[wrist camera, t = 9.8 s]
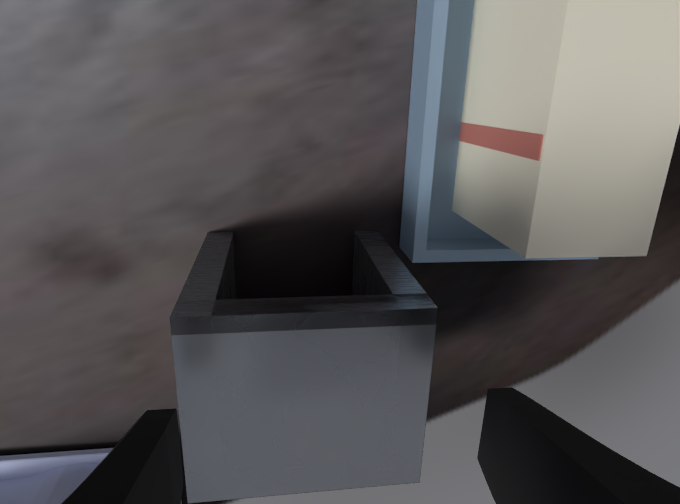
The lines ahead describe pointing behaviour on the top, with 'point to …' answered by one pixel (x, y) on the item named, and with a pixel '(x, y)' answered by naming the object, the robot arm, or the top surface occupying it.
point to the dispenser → (301, 379)
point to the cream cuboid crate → (569, 124)
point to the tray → (441, 143)
